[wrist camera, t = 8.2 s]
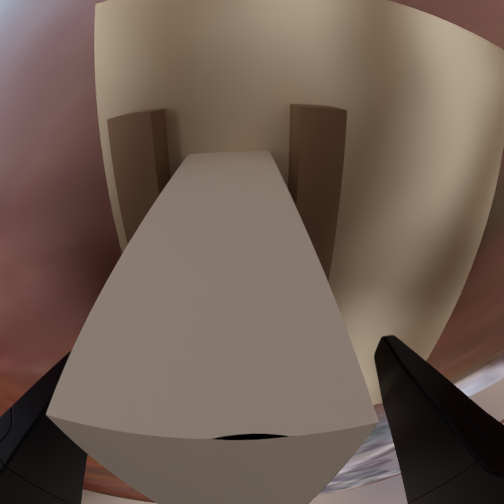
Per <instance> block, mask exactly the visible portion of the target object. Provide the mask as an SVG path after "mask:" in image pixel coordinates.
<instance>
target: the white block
mask: <svg viewBox="0 0 504 504" xmlns="http://www.w3.org/2000/svg"><path fill="white" fill-rule="evenodd" d="M46 415H47V416H48V417H49V418H50V419H51V420H52V421H53V422H54V423H55V424H56V425H57V426H58V427H59V428H60V429H61V430H62V431H63V432H64V433H65V434H66V435H67V436H68V437H69V438H70V439H71V440H72V441H74V442H75V443H76V444H77V445H78V446H79V447H80V448H81V449H83V450H84V451H85V452H86V453H87V454H88V455H90V456H91V457H92V458H93V459H95V460H96V461H97V462H98V463H100V464H101V465H102V466H103V467H105V468H106V469H107V470H109V471H110V472H111V473H113V474H114V475H115V476H117V477H118V478H119V479H121V480H122V481H124V482H125V483H126V484H128V485H129V486H131V487H132V488H134V489H135V490H137V491H138V492H140V493H141V494H143V495H145V496H146V497H148V498H149V499H151V500H153V501H154V502H156V503H158V504H309V503H310V502H311V501H312V500H313V499H314V498H315V497H316V496H317V495H318V494H319V493H320V492H321V491H322V490H323V489H324V488H325V487H326V486H327V484H328V483H329V482H330V481H331V480H332V479H333V478H334V477H335V476H336V475H337V474H338V472H339V471H340V470H341V469H342V468H343V467H344V466H345V464H346V463H347V462H348V461H349V460H350V458H351V457H352V456H353V455H354V454H355V452H356V451H357V450H358V449H359V447H360V446H361V445H362V444H363V442H364V441H365V440H366V439H367V437H368V436H369V435H370V433H371V432H372V431H373V429H374V428H375V427H376V425H377V424H378V418H377V415H376V412H375V409H374V406H373V403H372V400H371V397H370V394H369V391H368V388H367V385H366V382H365V379H364V376H363V373H362V370H361V367H360V365H359V362H358V359H357V356H356V353H355V351H354V348H353V345H352V342H351V340H350V337H349V334H348V332H347V329H346V326H345V324H344V321H343V318H342V316H341V313H340V311H339V308H338V306H337V303H336V300H335V298H334V295H333V293H332V290H331V288H330V285H329V283H328V280H327V278H326V276H325V273H324V271H323V268H322V266H321V263H320V261H319V259H318V256H317V254H316V252H315V249H314V247H313V245H312V242H311V240H310V238H309V235H308V233H307V231H306V228H305V226H304V224H303V222H302V219H301V217H300V215H299V213H298V210H297V208H296V206H295V204H294V202H293V199H292V197H291V195H290V193H289V191H288V188H287V186H286V184H285V182H284V180H283V178H282V176H281V174H280V171H279V169H278V167H277V165H276V163H275V161H274V159H273V157H272V155H271V153H270V151H241V152H215V153H197V154H188V156H187V157H186V158H185V160H184V161H183V162H182V164H181V165H180V166H179V168H178V169H177V171H176V172H175V173H174V175H173V176H172V178H171V179H170V181H169V182H168V183H167V185H166V186H165V188H164V189H163V191H162V192H161V194H160V195H159V197H158V198H157V200H156V201H155V203H154V204H153V206H152V207H151V209H150V210H149V212H148V213H147V215H146V216H145V218H144V219H143V221H142V223H141V224H140V226H139V227H138V229H137V230H136V232H135V234H134V235H133V237H132V239H131V240H130V242H129V244H128V245H127V247H126V248H125V250H124V252H123V254H122V255H121V257H120V259H119V260H118V262H117V264H116V266H115V267H114V269H113V271H112V273H111V274H110V276H109V278H108V280H107V282H106V283H105V285H104V287H103V289H102V291H101V293H100V295H99V296H98V298H97V300H96V302H95V304H94V306H93V308H92V310H91V312H90V314H89V316H88V318H87V320H86V322H85V324H84V326H83V328H82V330H81V332H80V334H79V336H78V338H77V340H76V343H75V345H74V347H73V349H72V351H71V353H70V356H69V358H68V360H67V363H66V365H65V367H64V369H63V372H62V374H61V377H60V379H59V381H58V384H57V386H56V389H55V391H54V394H53V396H52V399H51V402H50V404H49V407H48V410H47V412H46Z"/></svg>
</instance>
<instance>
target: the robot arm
mask: <svg viewBox="0 0 504 504" xmlns="http://www.w3.org/2000/svg"><path fill="white" fill-rule="evenodd" d="M71 351H72V350H71ZM71 351H70V352H69V353H68V354H67V355H65V356H64V357H63V358H62V359H61V360H60V361H59V362H58V363H57V364H56V365H55V366H53V367H52V368H51V369H50V370H49V371H48V372H47V373H46V374H45V375H44V376H43V377H42V378H41V379H39V380H38V381H37V382H36V383H35V384H34V385H33V386H32V387H31V388H30V389H29V390H28V391H27V392H26V393H25V394H24V395H23V396H22V397H21V398H20V399H19V400H18V401H17V402H15V403H14V404H13V405H12V407H10V408H9V409H8V410H7V411H6V412H5V413H4V414H3V415H2V416H1V417H0V504H81V499H82V490H83V482H84V474H85V467H86V460H87V453H86V452H85V451H84V450H83V449H81V448H80V447H79V446H78V445H77V444H76V443H75V442H74V441H72V440H71V439H70V438H69V437H68V436H67V435H66V434H65V433H64V432H63V431H62V430H61V429H60V428H59V427H58V426H57V425H56V424H55V423H54V422H53V421H52V420H51V419H50V418H49V417H48V416H47V415H46V412H47V410H48V407H49V404H50V402H51V399H52V396H53V394H54V391H55V389H56V386H57V384H58V381H59V379H60V377H61V374H62V372H63V369H64V367H65V365H66V363H67V360H68V358H69V356H70V353H71ZM374 361H375V366H376V371H377V376H378V382H379V387H380V393H381V398H382V402H383V406H384V409H385V413H386V416H387V420H388V423H389V427H390V431H391V434H392V438H393V442H394V446H395V450H396V454H397V458H398V462H399V466H400V470H401V475H402V479H403V483H404V488H405V493H406V497H407V502H408V504H504V425H503V424H502V423H500V422H499V421H497V420H496V419H495V418H493V417H492V416H490V415H489V414H488V413H486V412H485V411H484V410H483V409H482V408H481V407H479V406H478V405H477V404H476V403H475V402H473V401H472V400H471V399H469V397H468V396H466V395H465V394H464V393H463V392H462V391H461V390H459V389H458V388H457V387H456V386H455V385H454V384H452V383H451V382H450V381H449V380H448V379H447V378H445V377H444V376H443V375H442V374H441V373H439V372H438V371H437V370H436V369H435V368H434V367H432V366H431V365H430V364H429V363H428V362H426V361H425V360H424V359H423V358H422V357H420V356H419V355H418V354H417V353H416V352H414V351H413V350H412V349H411V348H410V347H408V346H407V345H406V344H405V343H403V342H402V341H401V340H400V339H399V338H397V337H396V336H395V335H387V336H382V337H381V339H380V341H379V343H378V346H377V348H376V351H375V354H374Z"/></svg>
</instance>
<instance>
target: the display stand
mask: <svg viewBox="0 0 504 504" xmlns="http://www.w3.org/2000/svg"><path fill="white" fill-rule="evenodd" d="M94 56H95V83H96V99H97V111H98V122H99V131H100V139H101V147H102V155H103V161H104V168H105V174H106V180H107V186H108V192H109V197H110V202H111V207H112V212H113V217H114V222H115V226H116V231H117V235H118V239H119V244H120V248H121V252H122V254H123V252H124V250H125V248H126V247H127V245H128V244H129V242H130V240H131V239H132V237H133V235H134V234H135V232H136V230H137V229H138V227H139V226H140V224H141V223H142V221H143V219H144V218H145V216H146V215H147V213H148V212H149V210H150V209H151V207H152V206H153V204H154V203H155V201H156V200H157V198H158V197H159V195H160V194H161V192H162V191H163V189H164V188H165V186H166V185H167V183H168V182H169V181H170V179H171V178H172V176H173V175H174V173H175V172H176V171H177V169H178V168H179V166H180V165H181V164H182V162H183V161H184V160H185V158H186V157H187V156H188V154H197V153H215V152H241V151H270V153H271V155H272V157H273V159H274V161H275V163H276V165H277V167H278V169H279V171H280V174H281V176H282V178H283V180H284V182H285V184H286V186H287V188H288V191H289V193H290V195H291V197H292V199H293V202H294V204H295V206H296V208H297V210H298V213H299V215H300V217H301V219H302V222H303V224H304V226H305V228H306V231H307V233H308V235H309V238H310V240H311V242H312V245H313V247H314V249H315V252H316V254H317V256H318V259H319V261H320V263H321V266H322V268H323V271H324V273H325V276H326V278H327V280H328V283H329V285H330V288H331V290H332V293H333V295H334V298H335V300H336V303H337V306H338V308H339V311H340V313H341V316H342V318H343V321H344V324H345V326H346V329H347V332H348V334H349V337H350V340H351V342H352V345H353V348H354V351H355V353H356V356H357V359H358V362H359V365H360V367H361V370H362V373H363V376H364V379H365V382H366V385H367V388H368V391H369V394H370V397H371V400H372V403H373V405H374V404H379V403H383V402H382V398H381V393H380V387H379V382H378V376H377V371H376V366H375V361H374V354H375V351H376V348H377V346H378V343H379V341H380V339H381V337H382V336H387V335H395V336H396V337H397V338H399V339H400V340H401V341H402V342H403V343H405V344H406V345H407V346H408V347H410V348H411V349H412V350H413V351H414V352H416V353H417V354H418V355H419V356H420V357H422V358H423V359H424V360H425V361H427V359H428V357H429V355H430V354H431V352H432V350H433V348H434V347H435V345H436V343H437V341H438V339H439V337H440V335H441V334H442V332H443V330H444V328H445V326H446V324H447V322H448V320H449V318H450V316H451V314H452V311H453V309H454V307H455V305H456V303H457V301H458V298H459V296H460V294H461V292H462V289H463V287H464V285H465V282H466V280H467V277H468V275H469V272H470V270H471V267H472V264H473V262H474V259H475V256H476V254H477V251H478V248H479V245H480V242H481V239H482V236H483V233H484V229H485V226H486V223H487V219H488V216H489V212H490V209H491V205H492V201H493V197H494V193H495V189H496V184H497V180H498V175H499V170H500V165H501V159H502V153H503V147H504V50H503V49H501V48H499V47H498V46H496V45H494V44H492V43H491V42H489V41H487V40H485V39H483V38H481V37H479V36H477V35H476V34H474V33H472V32H470V31H467V30H465V29H463V28H461V27H459V26H457V25H455V24H452V23H450V22H448V21H446V20H443V19H441V18H438V17H436V16H433V15H431V14H428V13H425V12H423V11H420V10H417V9H414V8H411V7H408V6H405V5H402V4H399V3H396V2H392V1H389V0H108V1H105V2H101V3H98V4H96V5H95V31H94Z"/></svg>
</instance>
